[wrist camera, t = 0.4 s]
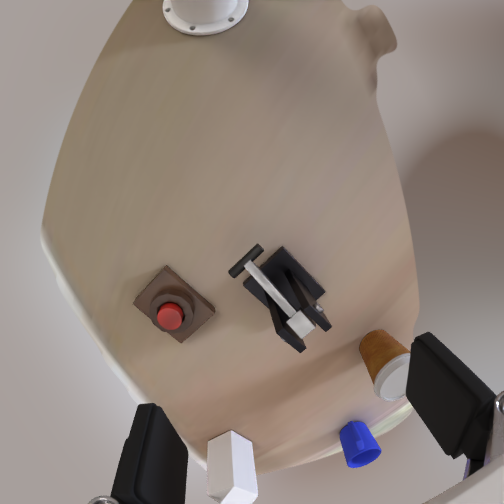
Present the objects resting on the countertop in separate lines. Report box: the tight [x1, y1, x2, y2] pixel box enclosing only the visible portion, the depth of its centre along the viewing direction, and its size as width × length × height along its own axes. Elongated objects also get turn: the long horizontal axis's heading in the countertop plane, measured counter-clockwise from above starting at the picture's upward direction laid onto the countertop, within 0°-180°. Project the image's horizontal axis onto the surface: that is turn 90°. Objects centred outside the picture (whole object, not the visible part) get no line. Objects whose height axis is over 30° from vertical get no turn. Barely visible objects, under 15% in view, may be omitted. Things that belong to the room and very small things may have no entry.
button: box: [157, 303, 183, 330], centre depth 40 cm, size 4×4×2 cm
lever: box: [228, 244, 316, 339], centre depth 35 cm, size 12×5×2 cm, turn 44°
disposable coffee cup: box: [359, 330, 410, 401], centre depth 44 cm, size 10×10×12 cm
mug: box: [340, 421, 381, 468], centre depth 52 cm, size 8×12×10 cm
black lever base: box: [243, 246, 332, 353], centre depth 38 cm, size 10×8×13 cm
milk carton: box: [207, 430, 258, 504], centre depth 46 cm, size 7×7×19 cm
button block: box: [133, 265, 215, 343], centre depth 42 cm, size 10×8×4 cm
